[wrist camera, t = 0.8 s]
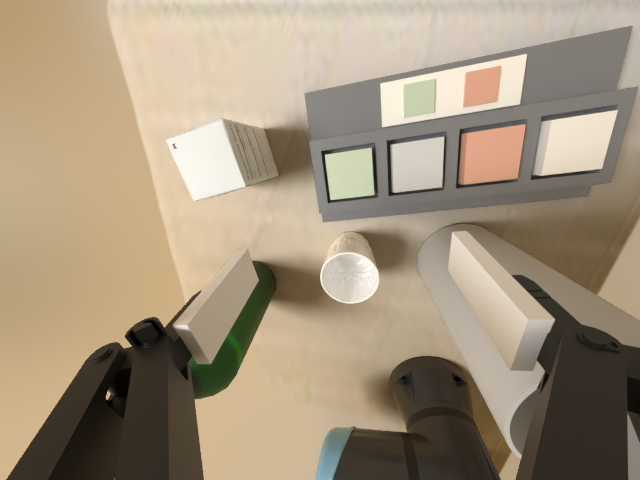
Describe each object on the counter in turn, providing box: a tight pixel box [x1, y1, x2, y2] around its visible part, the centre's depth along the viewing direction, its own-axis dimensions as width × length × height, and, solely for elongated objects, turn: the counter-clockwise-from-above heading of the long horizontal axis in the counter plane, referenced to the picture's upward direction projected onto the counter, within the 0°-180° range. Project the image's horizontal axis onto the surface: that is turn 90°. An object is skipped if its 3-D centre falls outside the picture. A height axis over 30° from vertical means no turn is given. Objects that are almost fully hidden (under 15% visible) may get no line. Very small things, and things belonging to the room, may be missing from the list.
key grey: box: [390, 137, 444, 193], centre depth 29 cm, size 6×6×2 cm
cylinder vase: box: [417, 224, 640, 480], centre depth 26 cm, size 12×12×25 cm
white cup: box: [320, 232, 379, 304], centre depth 35 cm, size 8×8×10 cm
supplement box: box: [166, 118, 279, 201], centre depth 31 cm, size 7×7×13 cm
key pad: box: [304, 26, 638, 222], centre depth 30 cm, size 18×36×4 cm, turn 98°
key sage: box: [325, 148, 374, 200], centre depth 31 cm, size 6×6×2 cm
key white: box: [532, 110, 618, 176], centre depth 26 cm, size 6×6×2 cm
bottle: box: [188, 262, 276, 399], centre depth 32 cm, size 11×11×28 cm
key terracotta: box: [458, 124, 526, 185], centre depth 28 cm, size 6×6×2 cm
